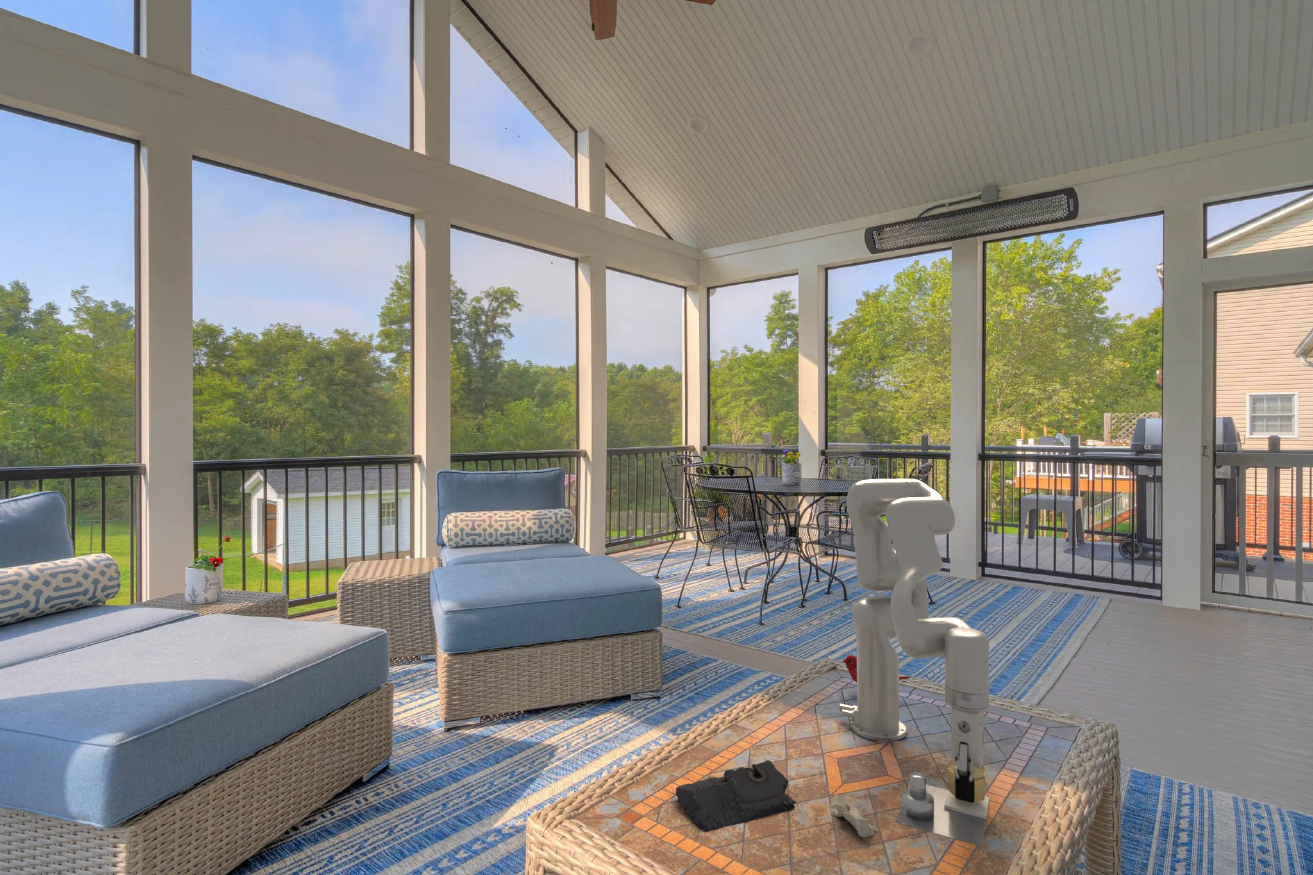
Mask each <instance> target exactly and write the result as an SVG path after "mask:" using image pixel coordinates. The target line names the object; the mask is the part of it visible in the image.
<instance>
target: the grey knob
mask: <svg viewBox="0 0 1313 875" xmlns="http://www.w3.org/2000/svg"><path fill="white" fill-rule="evenodd" d="M909 785H910V789H908V788H907V789H903V791H902V795H901V796H902V801H901V802H902V804H901V806H902V810H903V813H904V814H905V815H906V816H907V817H909V818H911V819H913V820H917V821H930V820H932V819H933V818H934V798H933V796H932V795H931V794H930V793H928V792H926V785H927V776H926V775H925V774H924V773H922V772H919V771H913V772H910V773H909Z"/></svg>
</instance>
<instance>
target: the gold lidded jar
mask: <svg viewBox="0 0 1313 875" xmlns="http://www.w3.org/2000/svg"><path fill="white" fill-rule="evenodd" d="M967 762H969V763H971V760H969V759H967ZM956 764H957V762H955V761H954V760H953V759H951V760H950V761H949V765H948V766H949V768H948V789H949V792H950V793H951V794H953V795H954V796H955V776H956ZM967 770H969V772H970V766H967ZM985 770H986V768H985V766H984V765H982V766H981V767H979V768H978V767H977V766H973V780H975V801H974V802H978V801H984V799H985V796H986V772H985Z"/></svg>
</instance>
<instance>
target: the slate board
mask: <svg viewBox="0 0 1313 875" xmlns="http://www.w3.org/2000/svg"><path fill="white" fill-rule="evenodd" d="M907 789H910V784H908V788H907ZM926 792H928V793H930V794H931V795H932V796H933V798H934V818H933V819H932V820H930V821H917V820H913V819H911V818H909V817H907V816H906V815H905V814H904V813H903V810H902V805H901V807H900V809H899V813H898V816H897V818H896V821H895V823H898V824H901V825H906V826H909V827H912V828H914V829H918V830H921V831H925V832H929V833H933V834H936V835H939V836H943V837H947V838H949V839H954V840H956V841H961V842H964V843H967V844H971V845H975V846H978V847H981V848H982V847H983V846H984V839H985V833H986V832H985V831H986V825H987V819H984V818H980V817H976V816H972V815H969V814H965V813H961V812H957V811H954V810H950V809H946V808H944V805H945V801H946V797H947V793H948V789H946V788H941V787H937V786H933V785H930V784H926Z"/></svg>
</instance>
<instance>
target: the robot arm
mask: <svg viewBox="0 0 1313 875" xmlns="http://www.w3.org/2000/svg"><path fill="white" fill-rule="evenodd" d="M846 510H847V514H848V517H849V520H850V524H851V526H852V530H853V537H854V552H855V553H854V554H855V568H856V570H855V571H856V578H857V583H858V584H859V586H860V587H861V589H863V590H866V591H869V592H886V591H887V592H888V591H891V592H892V593H891V595H890V596H888V595H887V596H886V595H884V596H872V597H870V596H869V597H865V598H861V599H859V600H858V601H856V603H855V604H854V606H853V608H852V622H853V623H852V624H853V627H854V628H853V629H854V633H855V640H856V657H857V683H856V705H855V704H854V705H849V704H843V703H840V704H839V712H841V715H842V716H843V717H849V718H851V720H850V728H851V730H852V731H853V732H854V733H856V734H857V735H858V736H860V737H863V738H865V739H868V740H872V741H878V740H879V739H888V740H892V741H899V740H901V739H904V738H905V737H906V735H907V726H906V725H905V724H904V723H903V722H902V721H900V680H899V676H900V659H899V655H898V652H897V651H896V649H895V647H893V646H892V644H891V642H890V639H894V638H897V641H898V644H899V645H900V648H901V649H902V651H903V653H905V654H906V655H907V656H909V657H911V658H913V659H930V658H931V659H932V658H933V659H934V658H944V702H945V704H946V705H947V706H949V707H951V709H950V710H951V711H950V712H951V717H950V719H951V723H950V728H951V729H950V731H951V734H950V735H951V737H950V738H951V755H952V756H951V757H952V759H953V760H954V761H955V762H957V764H956V776H955V798H956V799H958V800H962V801H966V802H970V803H974V801H975V780H973V766H977V767H978V768H979V767H981V766H983V762H984V755H985V748H986V747H985V714H984V713H985V712H986V711H988V710H990V643H989V642H990V641H989V637H988V636H987V635H986V633H984V632H983V631H981V630H978V629H974V628H972V627H971V626H970V625H969V624H968V623H967V622H966V621H965V620H963V619H962V618H960V617H954V616H943V617H929V615H930V613H929V602H928V599H929V598H928V584H927V578H930V577H931V576H933V575H936V574H937V573H939V572H940V571H941V570H942V568H943V559H942V556H941V554H940V550H939V548H938V544H937V541H936V538H935V536H943V535H948V534H950V533H951V532H952V531H953V530H954V528H955V523H956V517H955V512H954V510H953V507H952V505H951V504H950V503H949V501H948V500H947V498H945V497H944V496H942V494H940V493H939V492H938V491H936V490H935V489H933V488H932V487H931V486H929V485H927V484H926V483H924V482H923V481H922V480H919V479H915V478H874V479H873V478H872V479H871V478H870V479H864V480H860V481H859V480H858V481H857V482H854V483H853V484H852V485H851V486H850V487H849V489H848V492H847V497H846ZM884 515H885V520H886V522H885V520H884V519H883V518H882V517H881V516H884ZM892 545H893V546H892ZM893 548H894V549H893ZM952 759H951V760H952ZM967 759H969V760H971V763H969V762H967ZM967 766H970V772H969V770H967Z"/></svg>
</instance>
